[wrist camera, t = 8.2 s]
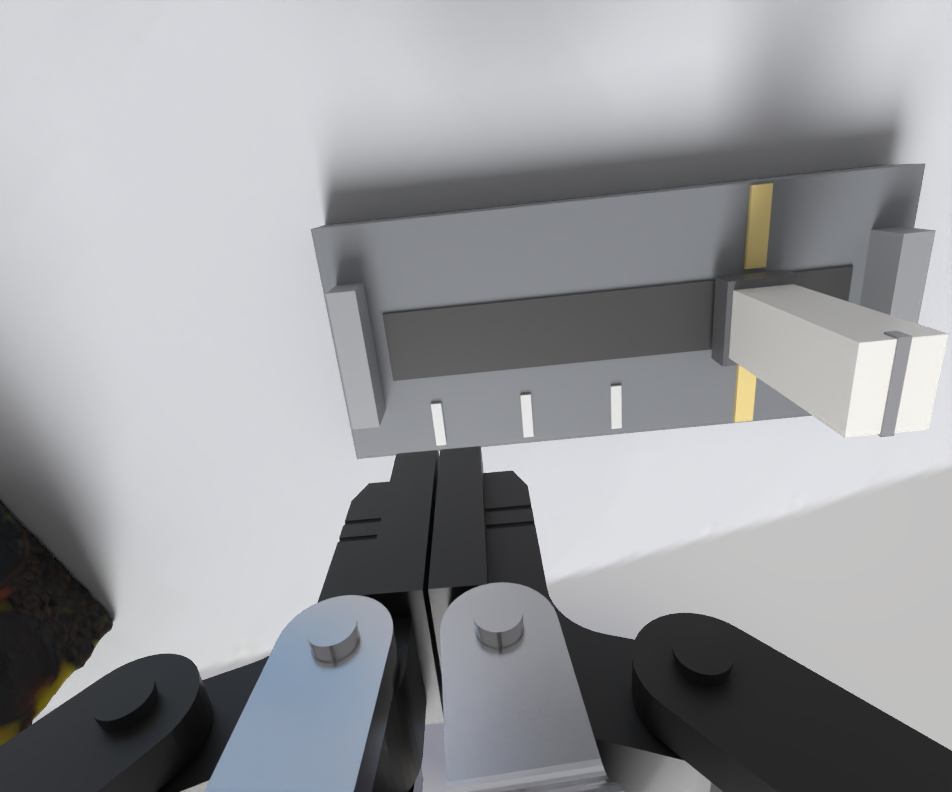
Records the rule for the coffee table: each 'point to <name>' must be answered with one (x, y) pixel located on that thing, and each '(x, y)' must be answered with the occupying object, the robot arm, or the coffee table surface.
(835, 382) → the fader
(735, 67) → the coffee table surface
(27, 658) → the candle
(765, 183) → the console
